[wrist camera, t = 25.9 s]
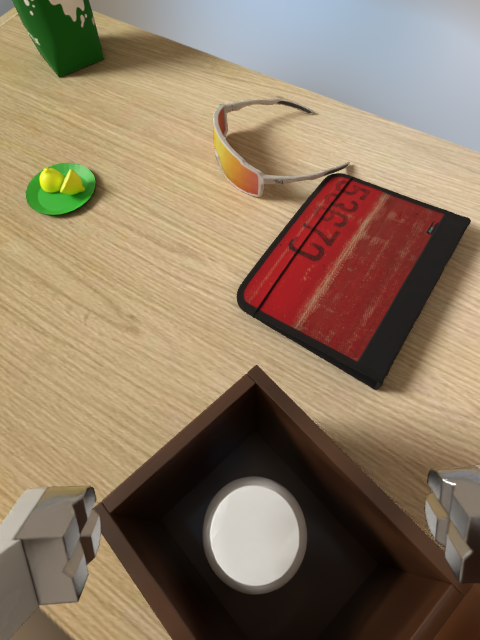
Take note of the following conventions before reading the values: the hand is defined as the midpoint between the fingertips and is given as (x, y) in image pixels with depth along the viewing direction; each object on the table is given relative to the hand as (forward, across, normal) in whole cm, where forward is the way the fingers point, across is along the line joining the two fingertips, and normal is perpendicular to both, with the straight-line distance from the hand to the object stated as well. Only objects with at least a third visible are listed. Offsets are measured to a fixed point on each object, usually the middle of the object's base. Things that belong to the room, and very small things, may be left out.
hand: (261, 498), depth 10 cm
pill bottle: (+17, 0, +18) cm, 24 cm away
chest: (+17, -1, +19) cm, 25 cm away
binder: (+34, -11, +2) cm, 36 cm away
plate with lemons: (+43, +20, -7) cm, 48 cm away
